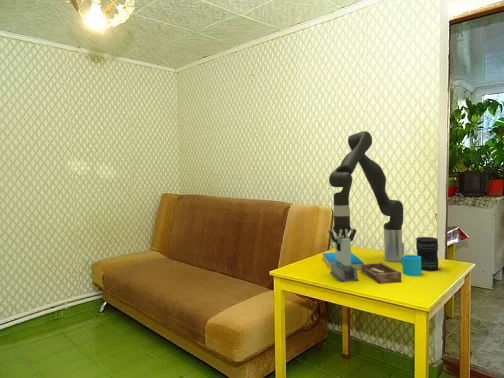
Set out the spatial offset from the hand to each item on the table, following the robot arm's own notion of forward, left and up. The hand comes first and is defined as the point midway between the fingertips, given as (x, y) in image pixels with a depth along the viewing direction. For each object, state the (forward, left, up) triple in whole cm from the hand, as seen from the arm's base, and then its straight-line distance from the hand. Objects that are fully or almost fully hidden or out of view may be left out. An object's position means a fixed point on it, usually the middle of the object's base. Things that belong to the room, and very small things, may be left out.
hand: (342, 250), depth 168 cm
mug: (-33, +1, -13) cm, 35 cm away
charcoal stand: (0, 0, -13) cm, 13 cm away
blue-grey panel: (0, 0, -6) cm, 6 cm away
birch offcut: (-15, +4, -11) cm, 19 cm away
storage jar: (-45, -3, -13) cm, 47 cm away
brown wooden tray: (-17, +4, -13) cm, 21 cm away
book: (-8, -23, -13) cm, 28 cm away
